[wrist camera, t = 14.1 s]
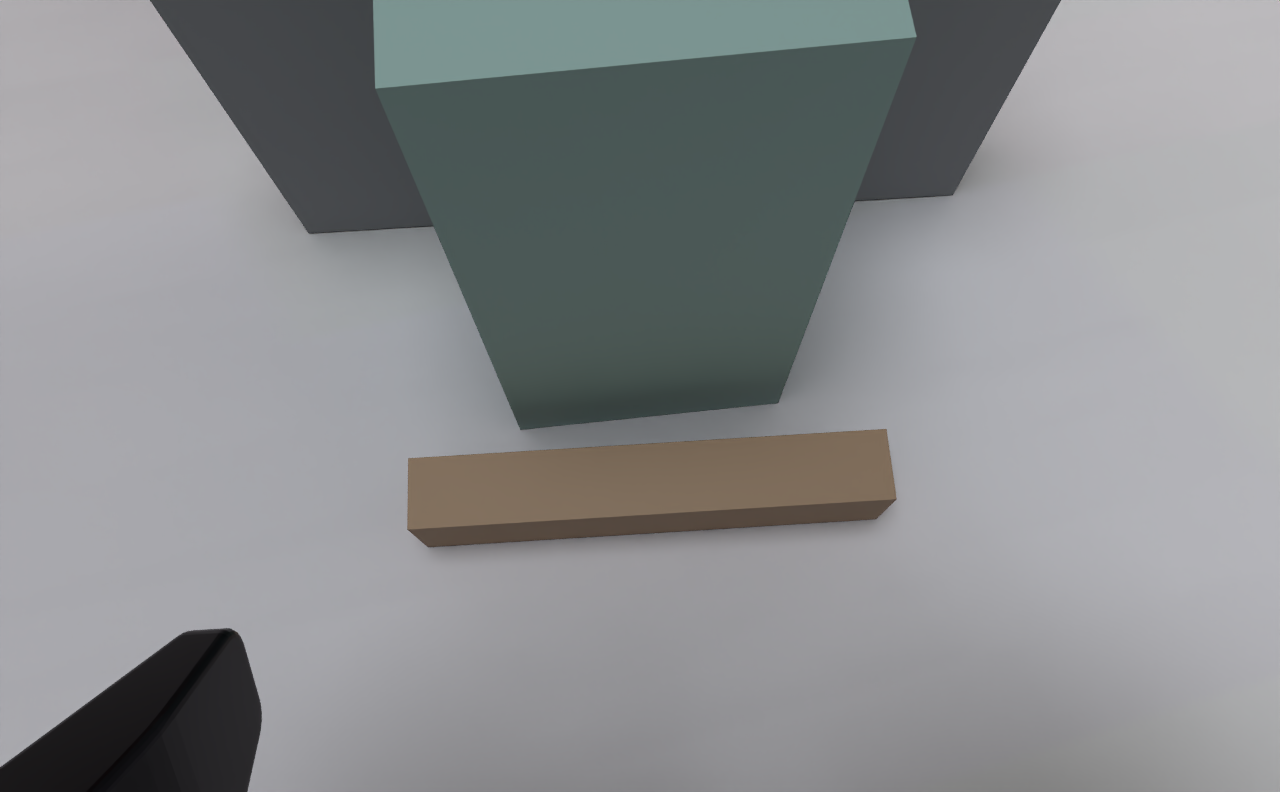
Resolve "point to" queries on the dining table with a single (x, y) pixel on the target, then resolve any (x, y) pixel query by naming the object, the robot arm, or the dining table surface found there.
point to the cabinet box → (639, 182)
